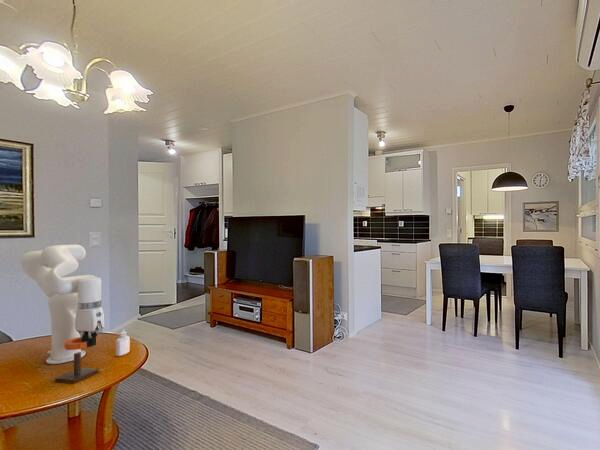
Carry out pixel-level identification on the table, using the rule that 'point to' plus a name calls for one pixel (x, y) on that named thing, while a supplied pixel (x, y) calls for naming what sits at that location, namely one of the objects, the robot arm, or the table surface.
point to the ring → (76, 344)
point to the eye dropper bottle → (122, 344)
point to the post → (77, 372)
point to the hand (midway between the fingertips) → (88, 345)
